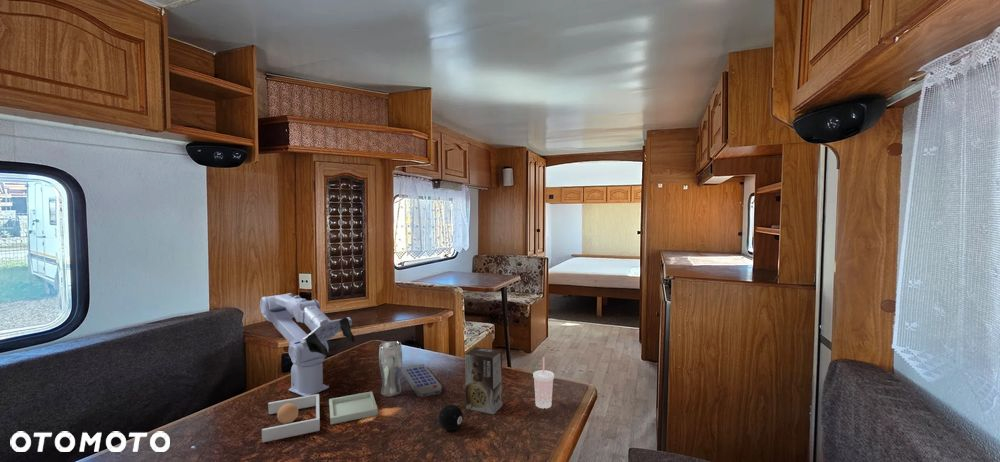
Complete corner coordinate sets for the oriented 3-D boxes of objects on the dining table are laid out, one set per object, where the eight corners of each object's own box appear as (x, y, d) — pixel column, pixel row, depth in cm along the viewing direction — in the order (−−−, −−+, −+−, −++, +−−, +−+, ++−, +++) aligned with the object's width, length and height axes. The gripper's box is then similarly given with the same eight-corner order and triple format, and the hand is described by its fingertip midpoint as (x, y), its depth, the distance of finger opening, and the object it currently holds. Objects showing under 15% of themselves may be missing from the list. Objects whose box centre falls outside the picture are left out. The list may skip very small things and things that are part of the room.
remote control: (423, 369, 145) (423, 363, 144) (443, 393, 124) (443, 386, 124) (401, 373, 141) (401, 366, 141) (418, 399, 121) (418, 391, 121)
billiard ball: (452, 437, 99) (452, 413, 99) (434, 430, 103) (434, 407, 102) (467, 426, 104) (467, 404, 104) (449, 420, 108) (449, 398, 107)
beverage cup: (558, 404, 116) (558, 356, 116) (545, 412, 112) (545, 362, 111) (541, 397, 121) (541, 351, 120) (528, 404, 116) (528, 357, 115)
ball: (273, 424, 106) (272, 405, 106) (291, 416, 110) (291, 398, 110) (284, 429, 103) (283, 410, 103) (302, 420, 108) (302, 402, 107)
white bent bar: (262, 442, 97) (261, 430, 97) (268, 413, 112) (268, 402, 112) (319, 430, 103) (319, 419, 103) (319, 403, 117) (319, 393, 117)
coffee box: (503, 405, 116) (503, 350, 115) (493, 415, 110) (493, 357, 109) (475, 399, 120) (475, 345, 119) (464, 408, 114) (464, 352, 113)
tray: (330, 424, 106) (330, 418, 106) (329, 404, 116) (329, 399, 116) (377, 414, 111) (377, 408, 111) (372, 396, 121) (372, 391, 121)
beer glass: (396, 398, 120) (395, 349, 120) (375, 396, 122) (374, 347, 121) (406, 388, 127) (405, 341, 127) (386, 386, 129) (385, 340, 128)
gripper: (291, 324, 114) (311, 347, 105) (340, 302, 123) (361, 322, 114) (296, 343, 117) (316, 367, 108) (344, 320, 126) (365, 341, 118)
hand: (340, 345), depth 112 cm, fingers open, 7 cm apart
